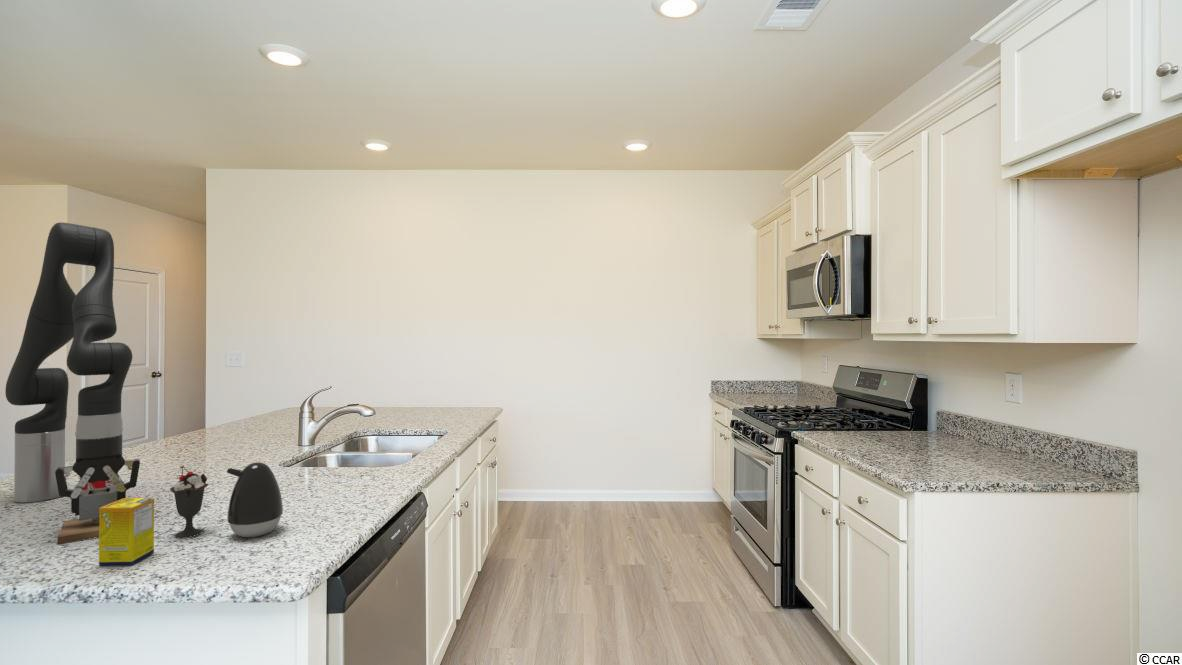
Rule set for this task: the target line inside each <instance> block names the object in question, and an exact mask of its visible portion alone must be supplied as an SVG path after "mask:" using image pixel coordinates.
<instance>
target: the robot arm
mask: <svg viewBox="0 0 1182 665" xmlns="http://www.w3.org/2000/svg"><path fill="white" fill-rule="evenodd" d="M114 243H115V242H114V239H113V237H112V235H111V233H110V232H109V231H108V230H106V229H102V228H98V227H93V226H92V227H91V226H86V225H82V224H81V225H80V224H76V223H71V222H70V223H68V222H61V221H60V222H56V223H54V225H53V226H51V228H50V230H49V232H48V237H47V241H46V245H45V250H44V257H43V261H42V267H41V273H40V277H39V281H38V284H37V287H36V290H35V295H34V297H33V300H32V302H31V306H30V309H29V313H28V315H27V320H26V324H25V329H24V332H23V333H24V334H23V336H22V340H21V344H20V347H19V350H18V353H17V355H16V357H15V360H14V361H13V362H14V363H13V365H12V367H11V369H10V372H9V374H8V377H7V380H6V383H5V398H6V401H7V402H8V403H9V404H10V405H13V406H19V407H21V406H35V405H44V407H43V408H42V409H41V410H39V411H38V412H36V413H34V414H33V415H31V416H28V417H24V418H22V419H19V420H18V421H16V422H15V424H14V474H13V475H14V480H13V482H14V484H13V487H14V490H13V493H14V494H13V495H14V496H13V497H14V498H13V501H14V502H15V503H35V502H41V501H48V500H53V499H56V498H59V497H60V498H69V499H70V507H71V508H70V512H71V514H74V515H75V516H79V496H80V492H81V491H82V489H83V488H84V486H85V485H86V483H87V482H89V483H93V482H97V481H109V480H111V481H112V483H113V484H114V485H115V486H116V487H117V489H118V493H117V501H118V500H121V499H123V498H127V496H126V495H127V494H126V493H127V491H128V490H130V489H132V488H135V487H136V486H137V483H138V482H137V481H138V476H139V471H140V466H141V465H140V464H141V460H140V458H135V459H125V458H124V456H123V433H124V432H123V431H124V430H123V429H124V428H123V417H122V394H123V393H122V391H123V387H124V384H125V382H126V381H125V380H126V378H127V375H128V372H129V370H130V368H131V364H132V361H133V352H132V349H131V348H130V346H129V345H127V344H126V343H124V342H102V341H105V340H108V339H110V338H112V337H114V336H115V335H116V333H117V330H118V328H117V320H116V313H115V307H114V300H113V293H114V291H113V290H114V277H115V276H114V274H115V272H114V270H115V246H114V245H115V244H114ZM66 264H73V265H81V266H90V267H94V269H95V270H94V274H93V276H92V277H91V279H89V281H88V282H86V284H85V285H84V286H83V287H81V289H80V290H79V291H78V293H75V292H74V291H73V288H72V287H71V285H69V284H70V283H69V282H68V280H67V277H66V276H65V273H64V267H65V265H66ZM71 340H72V342H71ZM100 341H101V342H100ZM69 342H71V345H70V348H69V350H68V353H67V357H66V366H67V368H68V370H69V371H70V372H71V373H73V374H74V375H76V376H106V375H108V376H109V377H108V378H107V379H106V380H105V381H104V382H102V383H99V384H95V385H90V386H86V387H83V388H81V389H80V390H79V391H78V394H77V419H76V424H75V426H76V427H75V433H74V435H75V462H74V463H73V465H69V466H66V423H67V417H68V416H67V413H68V412H67V411H68V400H69V397H68V396H69V388H70V387H69V385H70V384H69V377H68V373H67V372H66V371H65V370H64V369H63V368H61V367H47V368H46V367H43V368H40V366H41V365H42V363H43V362H44V361H45V360H47V358H49V357H50V356H52V355H53V354H54V353H56V352H57V351H59V350H60V349H61V348H63V347H64V346H65V345H67V344H68V343H69ZM124 466H126V467H127V469H128V470H129V471H131V473H130V477H129V478H130V479H129V481H128V482H124V480H123V479H122V478H121V476H120V475H119V472H120V470H122V468H123V467H124ZM72 471H73V472H74V473H75V474H76V475H78V476H79V479H78V480H79V481H77V484H76V486H75V487H74V488H73V489H69V488H68V483H67V478H69V476H70V475H71V472H72ZM80 477H81V479H80Z"/></svg>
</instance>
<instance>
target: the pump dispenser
mask: <svg viewBox="0 0 1182 665" xmlns="http://www.w3.org/2000/svg"><path fill="white" fill-rule="evenodd" d="M226 473H228V474H230V475H232V476H235V477H237V480H236V482H235V484H234V486H233V488H232V491H231V493H230V494H231V495H230V499H229V503H228V510H227V514H226V517H227V518H226V520H227V523H229V527H230V529H231V531H232V532H233V533H234V534H235V535H237V536H239V537H241V538H242V537H243V538H257V537H260V536H261V537H262V536H264V535H267V534H269V533H270V532H272V531H273V530H274V529H275V528H276V527H277V526H278V524H279V522H280V521H281V517H282V515H283V513H284V506H283V499H282V493H281V489H280V486H279V483H278V481H277V478H276V476H275V474H274V472H273V471H272V469H271V468H270V467H269V466H268V464H266V463H264V462H261V461H260V462H259V461H258V462H256V461H255V462H252V463H249V464H248V465H246V466H245V467H244V468H243V469H236V468H232V467H229V468H228V469H227V470H226Z"/></svg>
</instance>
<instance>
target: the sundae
mask: <svg viewBox="0 0 1182 665" xmlns="http://www.w3.org/2000/svg"><path fill="white" fill-rule="evenodd" d="M179 468H180V469H182V470H181V475H180V476H179V477H178V481H177V482H176V483H175V484H173V485H174V486H172V487H170V488H169V490H170V492H171V493H173V495H174V500H175V506H176V512H177V514H178V515H179V516H180V517H181V518H184V519H185V527H184V529H183V530H181V531H179V532H177V533H175V534H174V537H175V536H176V537H188V538H191V537H190V536H193V537H195V536H194V535H197V534H199V535H201V534H202V533H203V532H204V530H203V529H201V528H196V527H195V526H194V525H193V518H194V517H195V516H197V514H199V513H200V511H201V509H202V506H203V500H204V494H205V488H207V487H208V486H209V483H206V482H207V481H208V477H207V475H206V474H205V473H202V474H201V475H199V474H197V473H194V472H193V471H189V470H187V469H186V468H185V466H184V465H182V466H181V465H180V466H179ZM184 470H185V471H186V472H187V473H186V474H184ZM183 474H184V475H183ZM201 532H202V533H201ZM200 533H201V534H200ZM197 536H198V535H197ZM176 537H175V538H176Z"/></svg>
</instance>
